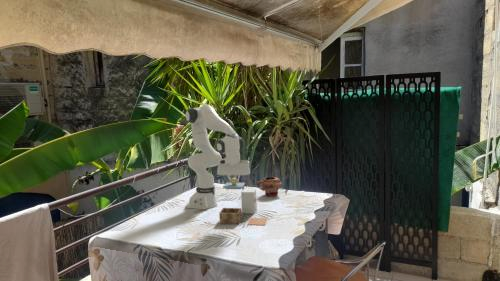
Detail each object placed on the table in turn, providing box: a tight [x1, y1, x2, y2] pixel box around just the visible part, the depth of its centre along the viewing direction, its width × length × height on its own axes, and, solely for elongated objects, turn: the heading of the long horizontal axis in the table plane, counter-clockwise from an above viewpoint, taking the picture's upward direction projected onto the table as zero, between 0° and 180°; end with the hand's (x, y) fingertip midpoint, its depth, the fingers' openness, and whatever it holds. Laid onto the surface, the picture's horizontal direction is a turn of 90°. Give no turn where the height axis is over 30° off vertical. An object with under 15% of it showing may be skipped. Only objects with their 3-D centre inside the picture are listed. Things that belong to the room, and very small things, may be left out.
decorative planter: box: [256, 176, 283, 197], centre depth 276 cm, size 20×12×14 cm, turn 94°
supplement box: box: [240, 188, 258, 215], centre depth 239 cm, size 9×9×15 cm
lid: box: [222, 177, 246, 190], centre depth 219 cm, size 12×10×6 cm
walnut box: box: [218, 207, 243, 225], centre depth 222 cm, size 12×10×7 cm
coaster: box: [247, 217, 268, 226], centre depth 220 cm, size 11×11×1 cm
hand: (234, 182), depth 219 cm, fingers closed on lid, 3 cm apart
